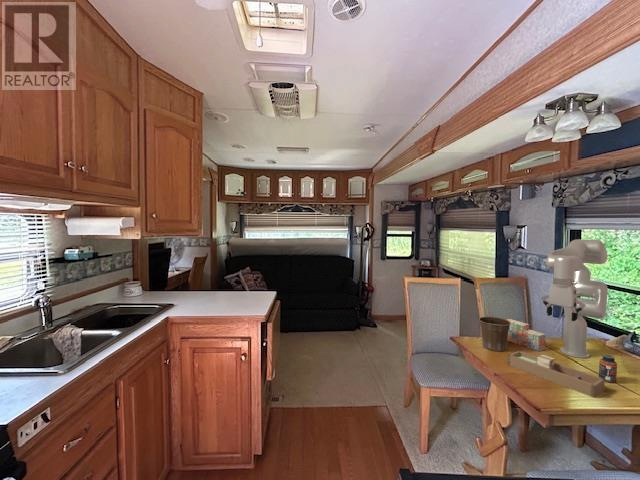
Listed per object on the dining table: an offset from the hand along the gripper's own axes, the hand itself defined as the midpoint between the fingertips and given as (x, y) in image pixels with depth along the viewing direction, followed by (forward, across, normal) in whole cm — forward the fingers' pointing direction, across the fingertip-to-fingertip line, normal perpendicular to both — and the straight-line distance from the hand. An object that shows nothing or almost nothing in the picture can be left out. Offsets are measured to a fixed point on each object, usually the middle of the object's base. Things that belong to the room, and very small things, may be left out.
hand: (561, 318), depth 144 cm
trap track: (+28, +1, +4) cm, 28 cm away
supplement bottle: (+27, -13, -14) cm, 34 cm away
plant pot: (+27, +34, -5) cm, 44 cm away
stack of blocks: (+27, +29, -26) cm, 47 cm away
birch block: (+25, +4, +4) cm, 25 cm away
